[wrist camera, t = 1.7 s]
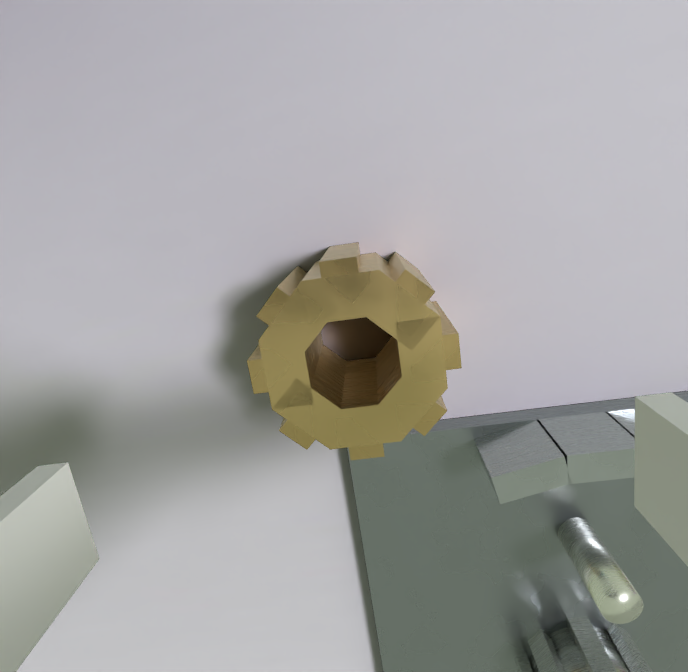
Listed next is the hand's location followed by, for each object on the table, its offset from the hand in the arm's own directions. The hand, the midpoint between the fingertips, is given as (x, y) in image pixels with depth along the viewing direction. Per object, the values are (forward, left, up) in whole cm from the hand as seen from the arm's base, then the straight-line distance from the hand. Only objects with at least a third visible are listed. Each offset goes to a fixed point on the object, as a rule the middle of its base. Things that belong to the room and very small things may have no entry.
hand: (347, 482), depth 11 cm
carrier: (+16, +9, -14) cm, 23 cm away
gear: (0, 0, -14) cm, 14 cm away
